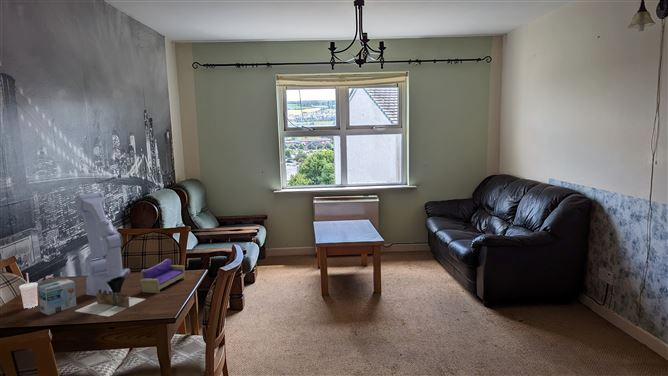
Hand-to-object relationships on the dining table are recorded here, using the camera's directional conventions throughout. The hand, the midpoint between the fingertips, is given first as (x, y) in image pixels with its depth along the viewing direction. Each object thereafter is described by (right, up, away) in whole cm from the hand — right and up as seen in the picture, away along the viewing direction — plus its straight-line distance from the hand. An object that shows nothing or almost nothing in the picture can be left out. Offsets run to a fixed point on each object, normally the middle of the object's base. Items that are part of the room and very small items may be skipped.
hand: (116, 295), depth 173 cm
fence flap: (-2, -2, -4) cm, 5 cm away
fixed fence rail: (+6, -3, -7) cm, 10 cm away
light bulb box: (-19, -4, -7) cm, 21 cm away
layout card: (0, -3, -5) cm, 6 cm away
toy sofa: (+13, -1, +18) cm, 22 cm away
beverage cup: (-34, -4, -3) cm, 34 cm away
